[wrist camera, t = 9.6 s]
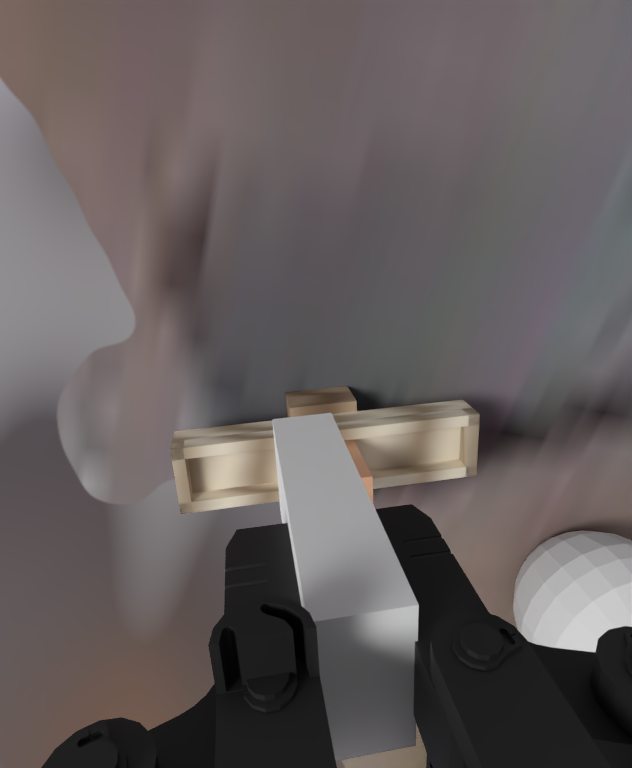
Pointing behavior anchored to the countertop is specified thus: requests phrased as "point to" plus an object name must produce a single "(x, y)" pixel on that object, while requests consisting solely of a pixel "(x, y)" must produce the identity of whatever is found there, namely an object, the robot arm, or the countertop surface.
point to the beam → (368, 429)
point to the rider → (361, 466)
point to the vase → (574, 590)
